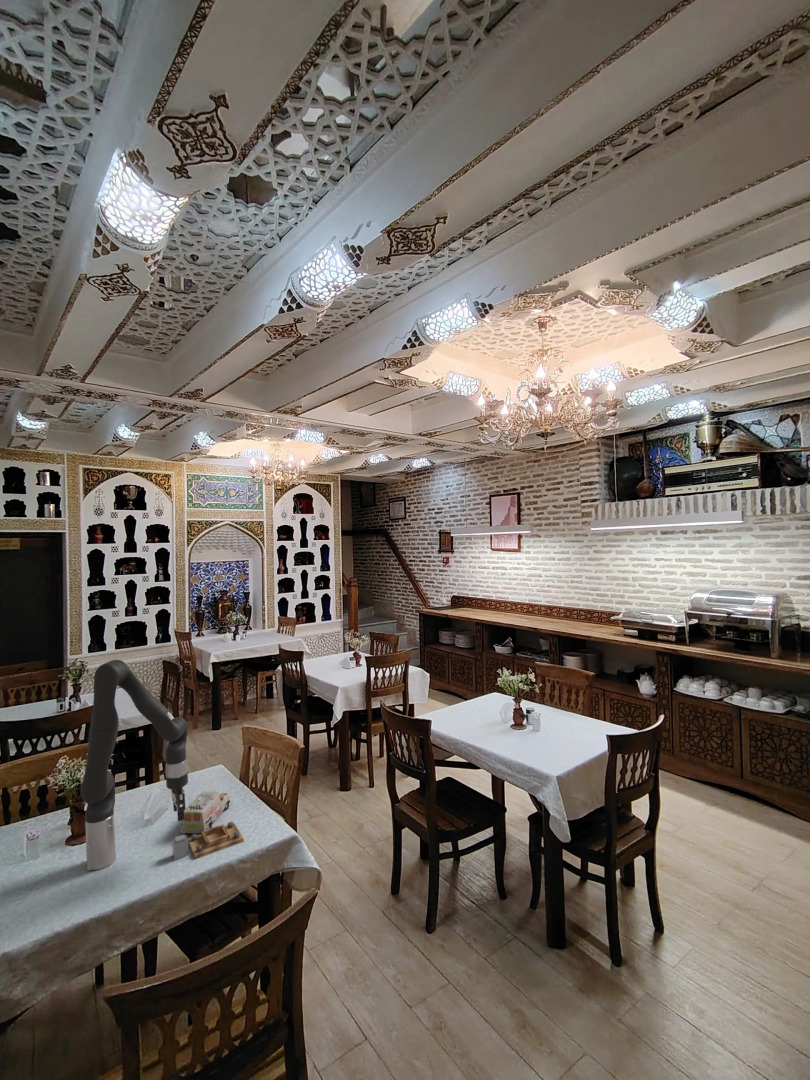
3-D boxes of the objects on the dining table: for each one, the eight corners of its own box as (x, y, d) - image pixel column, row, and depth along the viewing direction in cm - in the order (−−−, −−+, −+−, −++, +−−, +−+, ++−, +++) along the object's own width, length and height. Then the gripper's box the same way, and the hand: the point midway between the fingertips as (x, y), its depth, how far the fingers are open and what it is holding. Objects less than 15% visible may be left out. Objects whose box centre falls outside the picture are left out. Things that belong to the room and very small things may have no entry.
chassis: (195, 859, 190) (194, 850, 190) (187, 841, 202) (187, 833, 202) (243, 841, 200) (243, 833, 200) (233, 825, 212) (233, 817, 212)
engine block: (174, 860, 190) (173, 842, 190) (172, 855, 193) (171, 837, 193) (188, 855, 193) (188, 837, 193) (186, 850, 196) (185, 832, 196)
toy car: (231, 805, 229) (230, 782, 229) (204, 837, 204) (203, 812, 204) (208, 805, 230) (207, 783, 230) (179, 837, 205) (178, 812, 205)
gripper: (162, 769, 197) (165, 810, 197) (169, 782, 185) (171, 827, 185) (183, 763, 201) (185, 804, 201) (191, 776, 189) (193, 819, 189)
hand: (179, 815), depth 193 cm, fingers open, 8 cm apart
